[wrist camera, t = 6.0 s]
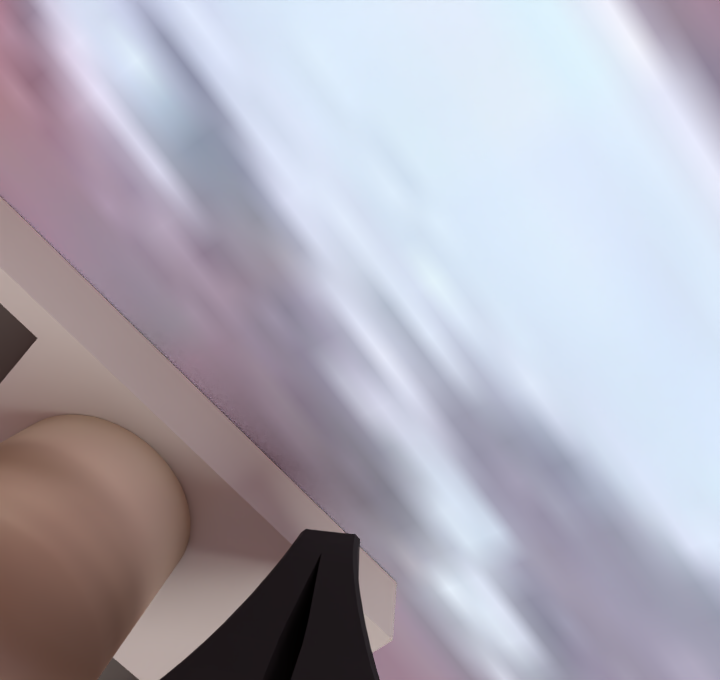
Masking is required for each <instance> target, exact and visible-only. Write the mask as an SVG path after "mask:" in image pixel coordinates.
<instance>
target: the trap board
mask: <svg viewBox="0 0 720 680" xmlns="http://www.w3.org/2000/svg"><path fill="white" fill-rule="evenodd" d="M68 414H73V415H86V416H92V417H96V418H100V419H103V420H107V421H109V422H112V423H114V424H117V425H119V426H121V427H123V428H125V429H127V430H128V431H130V432H132V433H134V434H135V435H136V436H138V437H139V438H141V439H142V440H144V441H145V442H146V443H147V444H148V445H150V446H151V447H152V448H153V449H154V450H155V451H156V452H157V453H158V454H159V455H160V456H161V457H162V458H163V459H164V460H165V462H166V463H167V464H168V466H169V467H170V468H171V470H172V471H173V472H174V474H175V476H176V477H177V479H178V481H179V483H180V485H181V487H182V489H183V491H184V494H185V497H186V500H187V503H188V506H189V513H190V526H191V529H190V537H189V542H188V545H187V548H186V551H185V553H184V555H183V556H182V558H181V560H180V561H179V563H178V564H177V566H176V567H175V569H174V570H173V571H172V573H171V574H170V576H169V577H168V579H167V580H166V581H165V583H164V584H163V586H162V587H161V589H160V590H159V592H158V593H157V594H156V596H155V597H154V599H153V600H152V602H151V603H150V605H149V606H148V607H147V609H146V610H145V612H144V613H143V615H142V616H141V617H140V619H139V620H138V622H137V623H136V625H135V626H134V628H133V629H132V630H131V632H130V633H129V635H128V636H127V638H126V639H125V641H124V642H123V643H122V645H121V646H120V648H119V649H118V651H117V652H116V654H115V655H114V656H113V658H112V659H111V661H110V662H109V664H108V665H107V666H106V668H105V669H104V671H103V672H102V674H101V675H100V677H99V678H98V679H97V680H160V679H161V678H162V677H163V676H165V675H166V674H167V673H168V672H170V671H171V670H172V669H173V668H174V667H176V666H177V665H178V664H179V663H181V662H182V661H183V660H184V659H185V658H186V657H187V656H189V655H190V654H191V653H192V652H193V651H194V650H195V649H196V648H198V647H199V646H200V645H201V644H202V643H203V642H204V641H205V640H206V639H207V638H209V637H210V636H211V635H212V634H213V633H214V632H215V631H216V630H217V629H218V628H219V627H220V626H221V625H222V624H223V623H224V622H225V621H226V620H227V619H228V618H229V617H230V616H231V615H232V614H233V613H234V612H235V611H236V610H237V609H238V607H239V606H240V605H241V604H242V603H243V602H244V601H245V600H246V599H247V598H248V597H249V596H250V595H251V594H252V593H253V592H254V590H255V589H256V588H257V587H258V586H259V585H260V583H261V582H262V581H263V580H264V579H265V578H266V576H267V575H268V574H269V573H270V572H271V571H272V569H273V568H274V567H275V566H276V565H277V563H278V562H279V561H280V560H281V558H282V557H283V556H284V555H285V553H286V552H287V551H288V549H289V548H290V547H291V545H292V544H293V543H294V541H295V540H296V539H297V537H298V536H299V535H300V533H301V532H302V531H303V530H305V529H311V530H320V531H329V532H338V533H345V532H344V531H343V530H342V529H341V528H340V527H339V526H338V525H337V524H336V523H335V522H334V521H333V520H332V519H331V518H330V517H329V516H328V515H327V514H326V513H325V512H324V511H323V510H322V509H320V508H319V507H318V506H317V505H316V504H315V503H314V502H313V501H312V500H311V499H310V498H309V497H308V496H307V495H306V494H305V493H304V492H303V491H302V490H301V489H300V488H299V487H298V486H297V485H296V484H295V483H294V482H293V481H292V480H291V479H290V478H289V477H288V476H287V475H286V474H285V473H284V472H283V471H281V470H280V469H279V468H278V467H277V466H276V465H275V464H274V463H273V462H272V461H271V460H270V459H269V458H268V457H267V456H266V455H265V454H264V453H263V452H262V451H261V450H260V449H259V448H258V447H257V446H256V445H255V444H254V443H253V442H252V441H251V440H250V439H249V438H248V437H247V436H246V435H245V434H244V433H243V432H241V431H240V430H239V429H238V428H237V427H236V426H235V425H234V424H233V423H232V422H231V421H230V420H229V419H228V418H227V417H226V416H225V415H224V414H223V413H222V412H221V411H220V410H219V409H218V408H217V407H216V406H215V405H214V404H213V403H212V402H211V401H210V400H209V399H208V398H207V397H206V396H205V395H204V394H203V393H201V392H200V391H199V390H198V389H197V388H196V387H195V386H194V385H193V384H192V383H191V382H190V381H189V380H188V379H187V378H186V377H185V376H184V375H183V374H182V373H181V372H180V371H179V370H178V369H177V368H176V367H175V366H174V365H173V364H172V363H171V362H170V361H169V360H168V359H167V358H166V357H165V356H164V355H162V354H161V353H160V352H159V351H158V350H157V349H156V348H155V347H154V346H153V345H152V344H151V343H150V342H149V341H148V340H147V339H146V338H145V337H144V336H143V335H142V334H141V333H140V332H139V331H138V330H137V329H136V328H135V327H134V326H133V325H132V324H131V323H130V322H129V321H128V320H127V319H126V318H125V317H124V316H122V315H121V314H120V313H119V312H118V311H117V310H116V309H115V308H114V307H113V306H112V305H111V304H110V303H109V302H108V301H107V300H106V299H105V298H104V297H103V296H102V295H101V294H100V293H99V292H98V291H97V290H96V289H95V288H94V287H93V286H92V285H91V284H90V283H89V282H88V281H87V280H86V279H85V278H84V277H82V276H81V275H80V274H79V273H78V272H77V271H76V270H75V269H74V268H73V267H72V266H71V265H70V264H69V263H68V262H67V261H66V260H65V259H64V258H63V257H62V256H61V255H60V254H59V253H58V252H57V251H56V250H55V249H54V248H53V247H52V246H51V245H50V244H49V243H48V242H47V241H46V240H45V239H43V238H42V237H41V236H40V235H39V234H38V233H37V232H36V231H35V230H34V229H33V228H32V227H31V226H30V225H29V224H28V223H27V222H26V221H25V220H24V219H23V218H22V217H21V216H20V215H19V214H18V213H17V212H16V211H15V210H14V209H13V208H12V207H11V206H10V205H9V204H8V203H7V202H6V201H5V200H3V199H2V198H1V197H0V443H1V442H3V441H5V440H6V439H8V438H10V437H12V436H13V435H15V434H17V433H19V432H20V431H22V430H24V429H26V428H27V427H29V426H31V425H33V424H35V423H36V422H39V421H41V420H43V419H46V418H49V417H53V416H58V415H68ZM396 586H397V583H396V582H395V581H394V580H393V579H392V578H391V577H390V576H389V575H388V574H387V573H386V572H385V571H384V570H383V569H382V568H381V567H380V566H379V565H378V564H377V563H376V562H375V561H374V560H373V559H372V558H371V557H370V556H369V555H368V554H367V553H366V552H365V551H364V550H363V549H362V548H360V551H359V587H360V594H361V601H362V607H363V613H364V618H365V623H366V628H367V633H368V637H369V642H370V646H371V650H372V653H373V652H374V651H376V650H378V649H379V648H381V647H382V646H384V645H386V644H387V643H389V642H391V641H392V640H393V629H394V615H395V601H396Z"/></svg>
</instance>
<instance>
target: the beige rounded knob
mask: <svg viewBox="0 0 720 680" xmlns="http://www.w3.org/2000/svg"><path fill="white" fill-rule="evenodd" d="M190 529H191V526H190V513H189V506H188V503H187V500H186V497H185V494H184V491H183V489H182V487H181V485H180V483H179V481H178V479H177V477H176V476H175V474H174V472H173V471H172V470H171V468H170V467H169V466H168V464H167V463H166V462H165V460H164V459H163V458H162V457H161V456H160V455H159V454H158V453H157V452H156V451H155V450H154V449H153V448H152V447H151V446H150V445H148V444H147V443H146V442H145V441H144V440H142V439H141V438H139V437H138V436H136V435H135V434H134V433H132V432H130V431H128V430H127V429H125V428H123V427H121V426H119V425H117V424H114V423H112V422H109V421H107V420H103V419H100V418H96V417H92V416H86V415H73V414H68V415H58V416H53V417H49V418H46V419H43V420H41V421H39V422H36V423H35V424H33V425H31V426H29V427H27V428H26V429H24V430H22V431H20V432H19V433H17V434H15V435H13V436H12V437H10V438H8V439H6V440H5V441H3V442H1V443H0V680H97V679H98V678H99V677H100V675H101V674H102V672H103V671H104V669H105V668H106V666H107V665H108V664H109V662H110V661H111V659H112V658H113V656H114V655H115V654H116V652H117V651H118V649H119V648H120V646H121V645H122V643H123V642H124V641H125V639H126V638H127V636H128V635H129V633H130V632H131V630H132V629H133V628H134V626H135V625H136V623H137V622H138V620H139V619H140V617H141V616H142V615H143V613H144V612H145V610H146V609H147V607H148V606H149V605H150V603H151V602H152V600H153V599H154V597H155V596H156V594H157V593H158V592H159V590H160V589H161V587H162V586H163V584H164V583H165V581H166V580H167V579H168V577H169V576H170V574H171V573H172V571H173V570H174V569H175V567H176V566H177V564H178V563H179V561H180V560H181V558H182V556H183V555H184V553H185V551H186V548H187V545H188V542H189V537H190Z"/></svg>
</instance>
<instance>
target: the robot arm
mask: <svg viewBox="0 0 720 680" xmlns="http://www.w3.org/2000/svg"><path fill="white" fill-rule="evenodd" d="M359 551H360V539H359V538H358V537H357V536H356V534H347V533H338V532H329V531H320V530H311V529H305V530H303V531H302V532H301V533H300V535H299V536H298V537H297V539H296V540H295V541H294V543H293V544H292V545H291V547H290V548H289V549H288V551H287V552H286V553H285V555H284V556H283V557H282V558H281V560H280V561H279V562H278V563H277V565H276V566H275V567H274V568H273V569H272V571H271V572H270V573H269V574H268V575H267V576H266V578H265V579H264V580H263V581H262V582H261V583H260V585H259V586H258V587H257V588H256V589H255V590H254V592H253V593H252V594H251V595H250V596H249V597H248V598H247V599H246V600H245V601H244V602H243V603H242V604H241V605H240V606H239V607H238V609H237V610H236V611H235V612H234V613H233V614H232V615H231V616H230V617H229V618H228V619H227V620H226V621H225V622H224V623H223V624H222V625H221V626H220V627H219V628H218V629H217V630H216V631H215V632H214V633H213V634H212V635H211V636H210V637H209V638H207V639H206V640H205V641H204V642H203V643H202V644H201V645H200V646H199V647H198V648H196V649H195V650H194V651H193V652H192V653H191V654H190V655H189V656H187V657H186V658H185V659H184V660H183V661H182V662H181V663H179V664H178V665H177V666H176V667H174V668H173V669H172V670H171V671H170V672H168V673H167V674H166V675H165V676H163V677H162V678H161V679H160V680H380V679H379V676H378V673H377V669H376V665H375V662H374V658H373V654H372V650H371V646H370V642H369V637H368V633H367V628H366V623H365V618H364V613H363V607H362V601H361V594H360V587H359Z"/></svg>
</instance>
